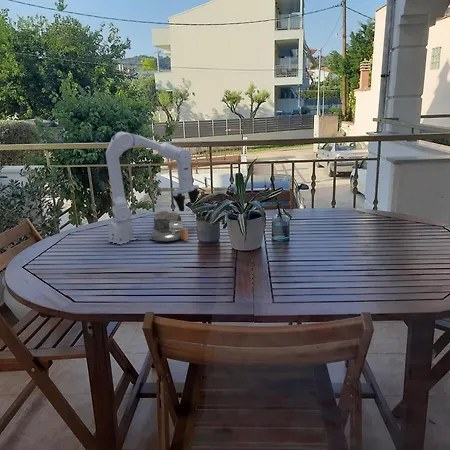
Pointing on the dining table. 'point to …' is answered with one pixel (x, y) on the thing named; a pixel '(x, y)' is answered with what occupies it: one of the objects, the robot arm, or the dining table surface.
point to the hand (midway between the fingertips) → (187, 208)
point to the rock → (165, 219)
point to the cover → (175, 226)
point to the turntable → (169, 235)
